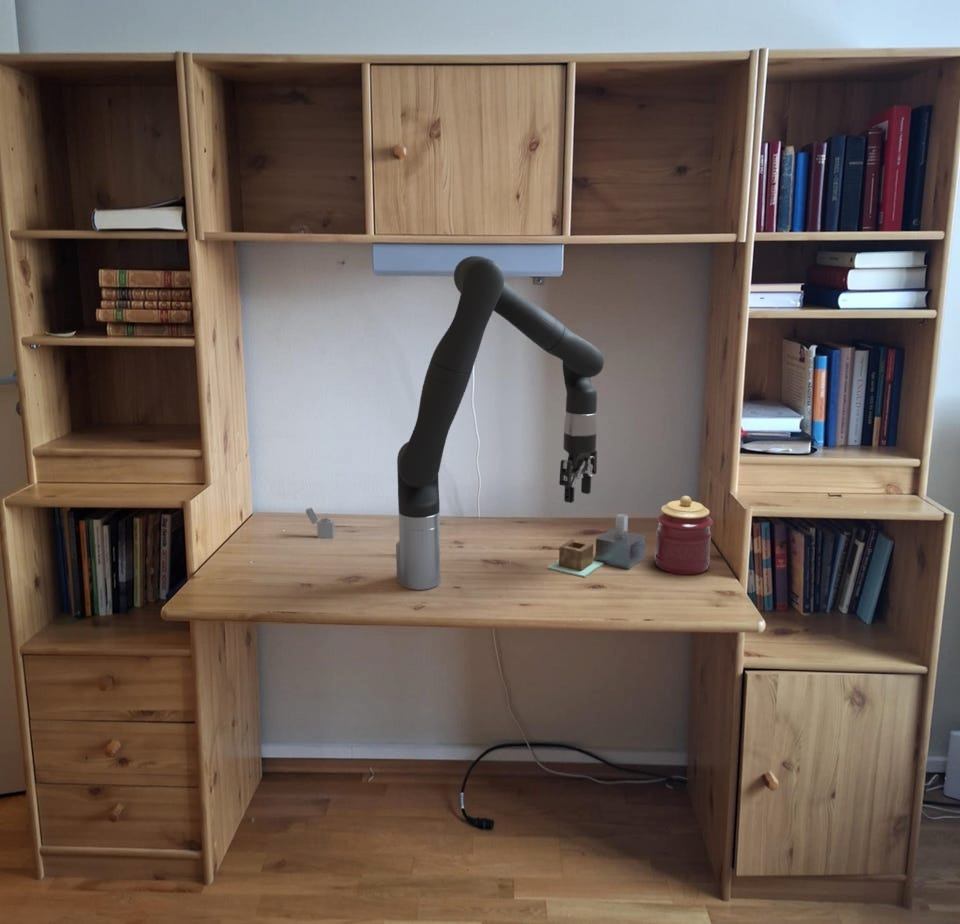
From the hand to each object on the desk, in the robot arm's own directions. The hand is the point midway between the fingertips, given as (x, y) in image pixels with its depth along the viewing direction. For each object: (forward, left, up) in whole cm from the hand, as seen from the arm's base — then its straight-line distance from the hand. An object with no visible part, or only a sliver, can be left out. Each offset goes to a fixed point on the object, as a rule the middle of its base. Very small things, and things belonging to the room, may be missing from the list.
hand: (577, 497), depth 207 cm
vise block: (+7, +10, -17) cm, 21 cm away
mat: (0, 0, -17) cm, 17 cm away
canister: (+21, +15, -18) cm, 31 cm away
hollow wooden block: (0, 0, -17) cm, 17 cm away
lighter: (-66, -19, -18) cm, 71 cm away
